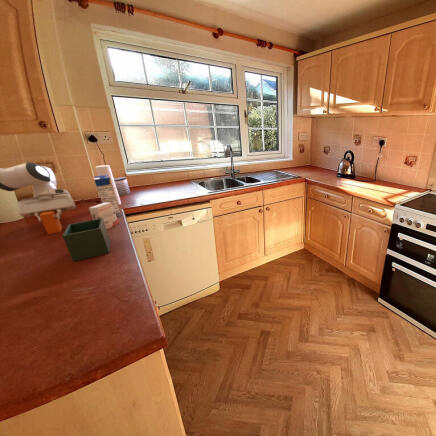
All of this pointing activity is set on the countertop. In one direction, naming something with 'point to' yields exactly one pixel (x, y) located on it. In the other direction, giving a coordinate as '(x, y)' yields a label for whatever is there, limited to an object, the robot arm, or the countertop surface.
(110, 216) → the ink box
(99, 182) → the beverage box
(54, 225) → the block
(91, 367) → the countertop surface
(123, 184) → the can
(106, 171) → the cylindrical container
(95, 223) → the dark green open box
